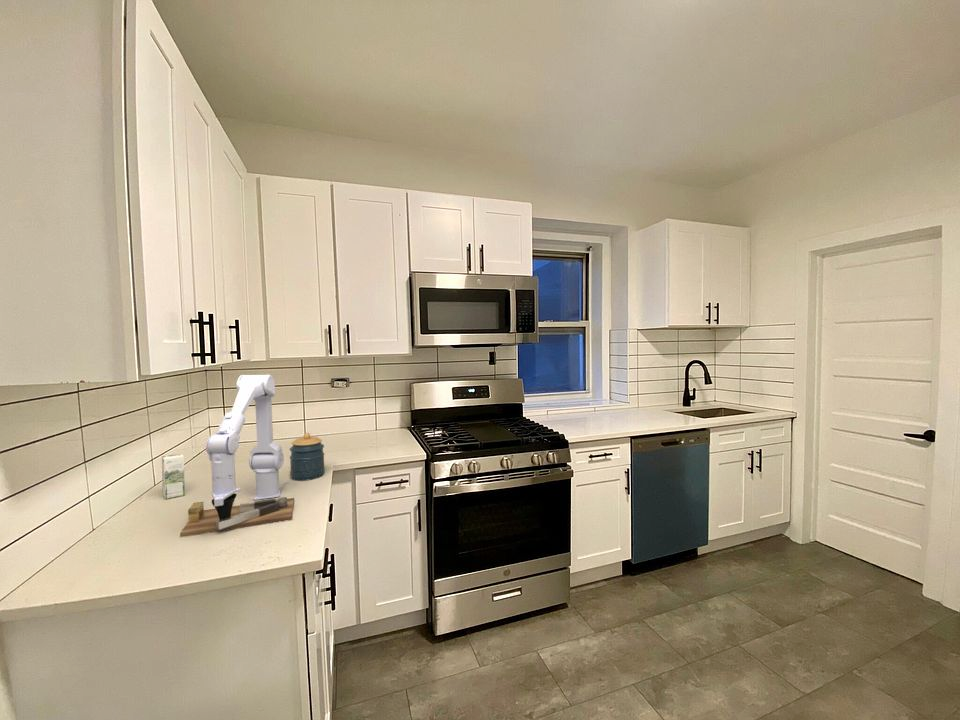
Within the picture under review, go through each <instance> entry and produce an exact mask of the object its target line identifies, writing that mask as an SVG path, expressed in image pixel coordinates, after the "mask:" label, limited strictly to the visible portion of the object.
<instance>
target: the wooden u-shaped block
mask: <svg viewBox="0 0 960 720" xmlns="http://www.w3.org/2000/svg"><path fill="white" fill-rule="evenodd" d="M204 503H205V502H204V501H198V502H197V501H196V502H193V503H192V504H191V506H190V507H189V508H188V510H187V511H188V513H187V515H188V517H187V519H188V520H187V521H189V523H193V522H199V515H204V510H205V507H204V505H205V504H204Z"/></svg>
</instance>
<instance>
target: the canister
mask: <svg viewBox="0 0 960 720" xmlns="http://www.w3.org/2000/svg"><path fill="white" fill-rule="evenodd" d="M322 441H323V439H321V438H319V437H318V436H314V435H313V436H311V434H310V433H309V432H305V433H303V436H302V437H298V438H295V440H293V441H292V442H291V445H292V446H291V447H290V448H289V451H290V456H289V460H290V461H289V462H290V472H289V476H290V479H291V480H293V479H295V481H308V480H307V479H311V480H314V479H313V478H315V479H317V478H316V477H318V478H320V477H319V476H321V477H322V476H324V475H325V470H326V469H325V452H324V449H323V448H325V445H324V443H322ZM323 474H324V475H323Z"/></svg>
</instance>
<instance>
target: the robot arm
mask: <svg viewBox="0 0 960 720" xmlns="http://www.w3.org/2000/svg"><path fill="white" fill-rule="evenodd" d="M275 383H276V381H275V379H274V377H273V376H272V375H271V374H269V373H268V374H241V375H239V377H238V378H237V380H236V384H235V386H236V391H237V394H236V396H235V400H234V402H233V405H232V407H231V411H229V412H226V413H225V414H224V417H222V421H220V423H219V426H218V427H217V428H218V429H217V430H216V432H215V433H214V434H213V435H210V437H208V439H207V440H206V441H207V442H206V446H205V451H206V453H207V454H208V460H209V462H211V463H210V464H211V488H212V489H211V497H212V500H211V504H212V506H213V507H214V509H216V510H217V513H218V516H219V519H220V520H222V519H225V518H228V517H230V516H231V511H232V506H234V502H235V501H236V500H235V499H236V497H237V493H239V492H240V491H241V487H236V463H235V462H236V457H235V456H236V455H235V453H236V452H237V450H238V449H239V444H240V438H241V437H240V433H241V431H242V428H243V426H244V424H245V422H246V417H245V416H244V415H245V413H246V411H247V410H248V408H249V406H250V405H251V403H252V401H253V400H254V401H255V402H254V406H255V424H256V425H255V427H256V445H255V446H254V447H253V448H251V449H250V451H249V452H250V453H249V459H248V465H249V467H250V469H251V471H253V473H255V494H254V497H253V501H260V500H268V499H275V498H280V496H281V491H282V487H281V486H280V481H279V480H280V479H279V473H280V472H279V470H280V469H281V468H282V467H283V464H284V461H285V456H284V453H283V447H282V446H281V445H279V444H278V443H276V442H274V434H273V432H274V430H273V429H274V428H273V411H272V410H273V407H272V406H273V405H272V398H273V397H275V396H276V388H275V387H276V384H275Z"/></svg>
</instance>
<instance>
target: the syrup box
mask: <svg viewBox="0 0 960 720" xmlns="http://www.w3.org/2000/svg"><path fill="white" fill-rule="evenodd" d="M161 469H162V470H161V474H162V475H161V478H162V496H163V497H164V500H170V499H174V498H178V497H179V498H180V497H182V496H185V495H186V494H185V493H186V492H185V491H186V490H185V489H186V487H185V486H186V485H185V484H186V483H185V482H186V481H185V480H186V479H185V456H184V455H183V454H182V453H180V452H179V453H173V454H167V455H162V456H161Z"/></svg>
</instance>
